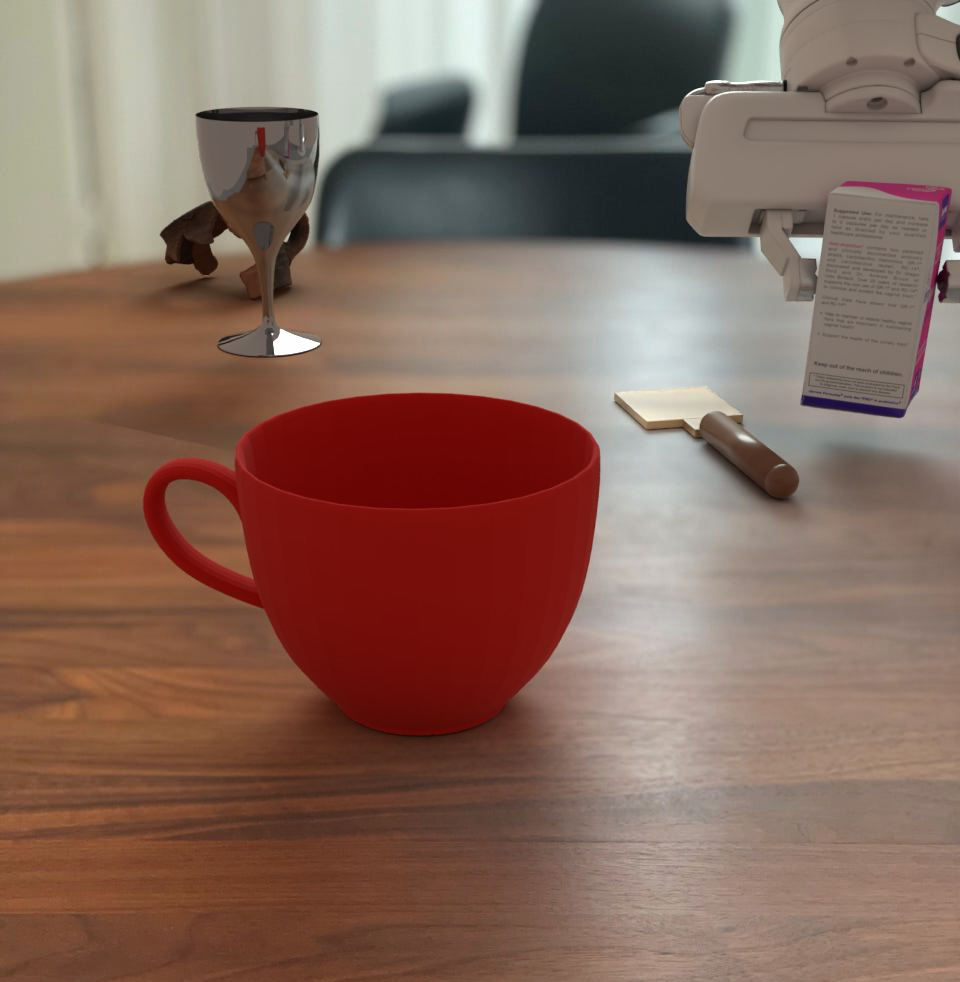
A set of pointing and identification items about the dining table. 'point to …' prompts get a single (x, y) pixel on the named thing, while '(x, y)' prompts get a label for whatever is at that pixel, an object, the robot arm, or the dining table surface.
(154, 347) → the dining table surface
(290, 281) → the brown irregular piece
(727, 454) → the spatula
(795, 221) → the robot arm
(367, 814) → the dining table surface
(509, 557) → the ceramic cup
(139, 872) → the dining table surface
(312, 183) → the wine glass
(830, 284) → the supplement box
